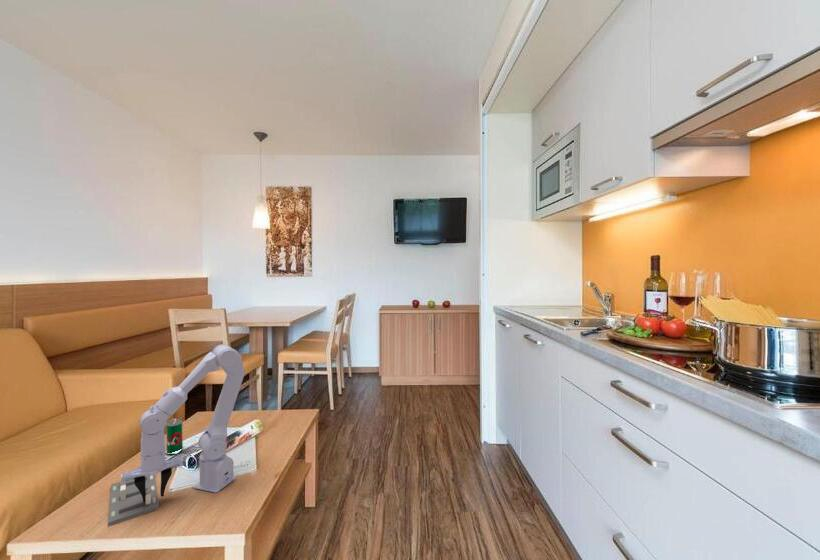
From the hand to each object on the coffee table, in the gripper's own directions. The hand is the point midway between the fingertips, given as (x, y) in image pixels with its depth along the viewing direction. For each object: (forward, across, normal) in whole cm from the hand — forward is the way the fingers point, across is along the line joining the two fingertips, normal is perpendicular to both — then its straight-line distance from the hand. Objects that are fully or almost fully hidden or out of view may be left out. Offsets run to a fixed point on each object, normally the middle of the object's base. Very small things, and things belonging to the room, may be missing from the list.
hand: (153, 497), depth 102 cm
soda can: (+2, +8, +32) cm, 33 cm away
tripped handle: (+1, -1, 0) cm, 1 cm away
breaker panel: (+2, -4, +8) cm, 9 cm away
